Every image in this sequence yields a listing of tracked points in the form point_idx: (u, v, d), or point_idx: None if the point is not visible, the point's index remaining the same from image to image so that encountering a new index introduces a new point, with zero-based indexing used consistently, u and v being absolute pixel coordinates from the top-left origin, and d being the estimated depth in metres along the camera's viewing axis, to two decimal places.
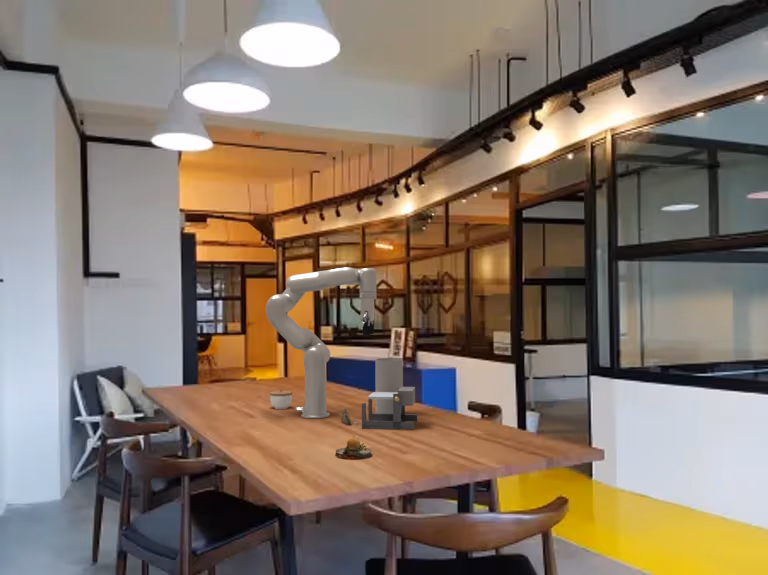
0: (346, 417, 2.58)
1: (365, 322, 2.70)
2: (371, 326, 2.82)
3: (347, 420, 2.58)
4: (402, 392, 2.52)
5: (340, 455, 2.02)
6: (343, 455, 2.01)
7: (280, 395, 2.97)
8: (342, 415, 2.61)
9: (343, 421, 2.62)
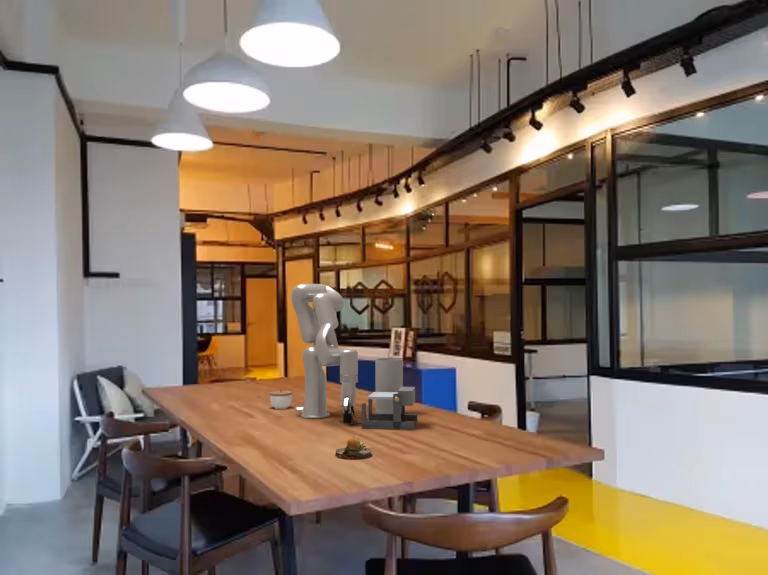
0: (351, 416, 2.59)
1: (346, 410, 2.56)
2: (352, 412, 2.65)
3: (352, 419, 2.59)
4: (402, 392, 2.52)
5: (340, 455, 2.02)
6: (343, 455, 2.01)
7: (280, 395, 2.97)
8: None
9: None
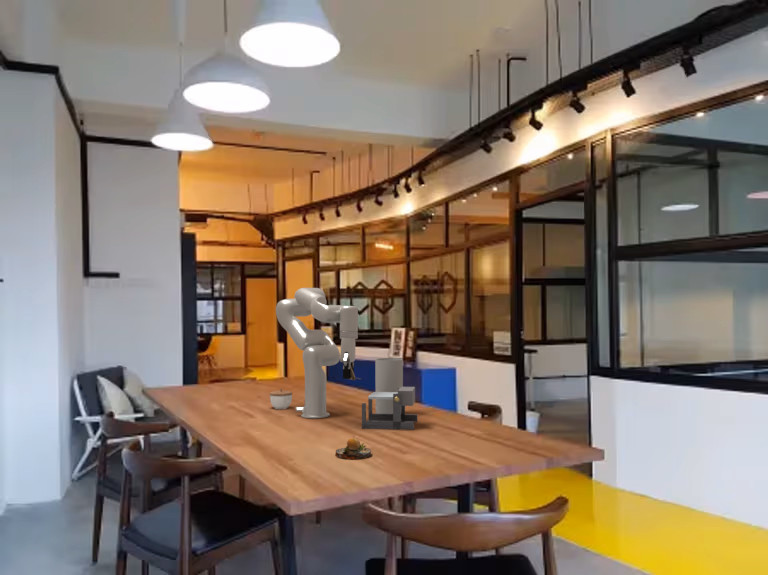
0: None
1: (345, 365, 2.57)
2: None
3: (351, 375, 2.60)
4: (402, 392, 2.52)
5: (340, 455, 2.02)
6: (343, 455, 2.01)
7: (280, 395, 2.97)
8: None
9: None
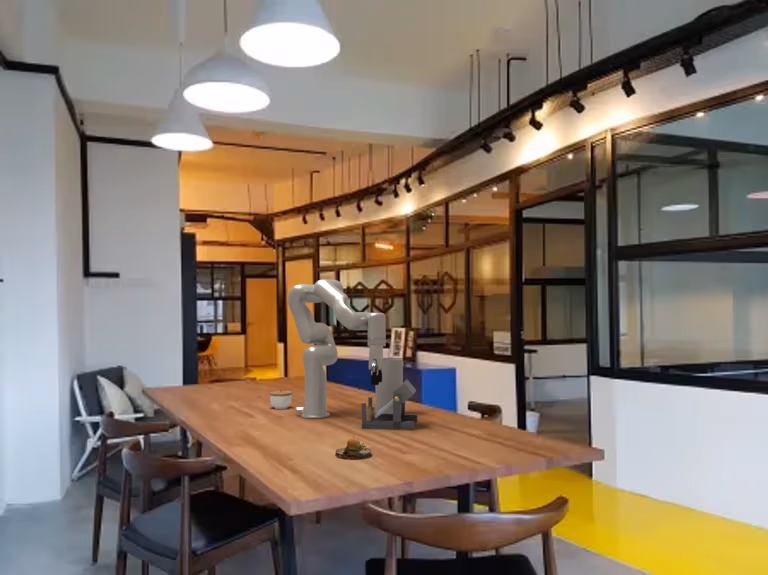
0: (373, 413, 2.55)
1: (374, 371, 2.53)
2: (380, 374, 2.65)
3: (373, 410, 2.55)
4: (397, 390, 2.52)
5: (340, 455, 2.02)
6: (343, 455, 2.01)
7: (280, 395, 2.97)
8: (373, 418, 2.57)
9: None
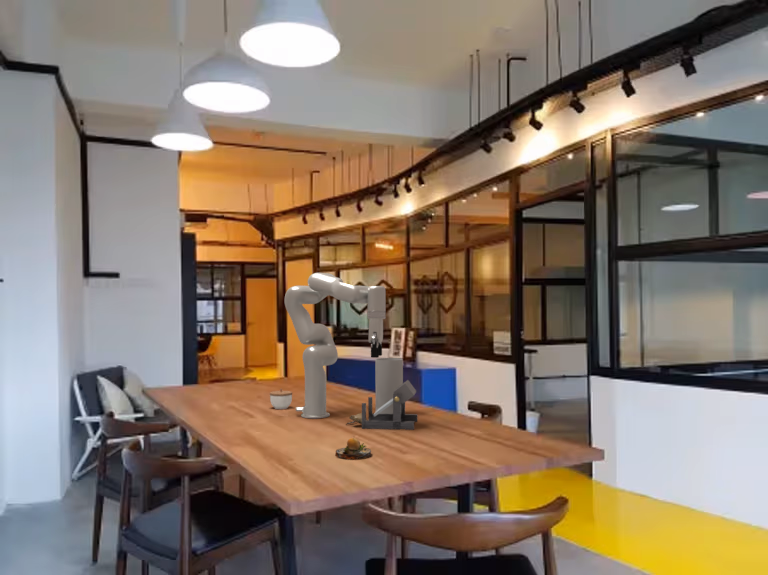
0: (356, 419, 2.54)
1: (373, 344, 2.53)
2: (380, 347, 2.65)
3: (354, 418, 2.55)
4: (398, 390, 2.52)
5: (340, 455, 2.02)
6: (343, 455, 2.01)
7: (280, 395, 2.97)
8: None
9: (359, 414, 2.59)
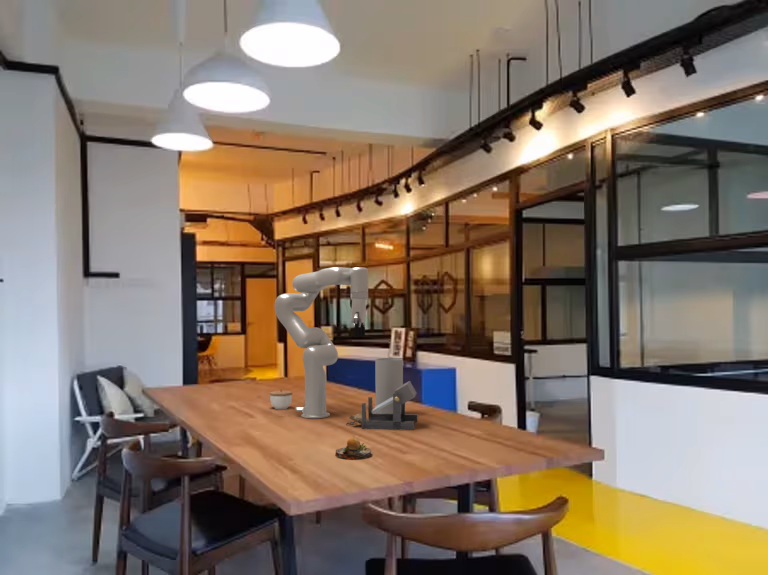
0: (356, 419, 2.54)
1: (356, 324, 2.59)
2: (363, 328, 2.70)
3: (354, 418, 2.55)
4: (399, 390, 2.52)
5: (340, 455, 2.02)
6: (343, 455, 2.01)
7: (280, 395, 2.97)
8: None
9: (359, 414, 2.59)
